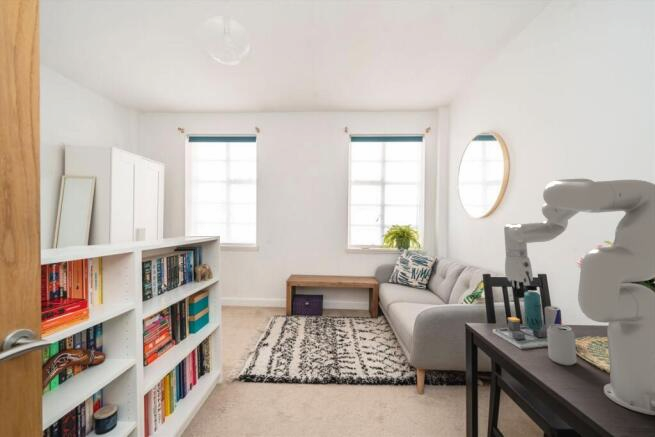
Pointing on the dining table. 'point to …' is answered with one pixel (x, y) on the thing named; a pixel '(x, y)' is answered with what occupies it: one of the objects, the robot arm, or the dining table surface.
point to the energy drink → (552, 316)
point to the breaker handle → (514, 324)
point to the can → (561, 344)
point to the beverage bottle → (532, 308)
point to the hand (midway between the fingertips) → (519, 297)
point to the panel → (523, 337)
